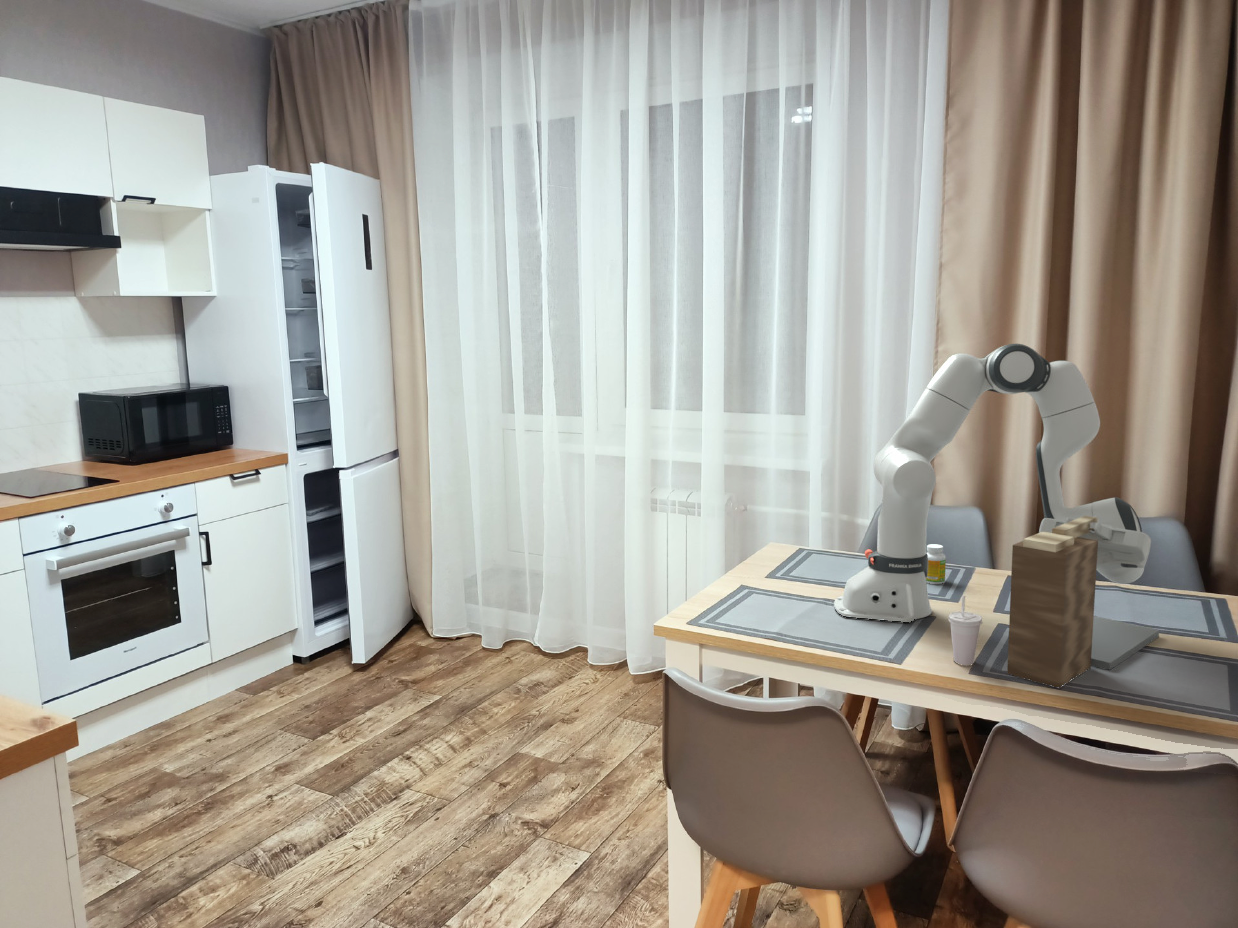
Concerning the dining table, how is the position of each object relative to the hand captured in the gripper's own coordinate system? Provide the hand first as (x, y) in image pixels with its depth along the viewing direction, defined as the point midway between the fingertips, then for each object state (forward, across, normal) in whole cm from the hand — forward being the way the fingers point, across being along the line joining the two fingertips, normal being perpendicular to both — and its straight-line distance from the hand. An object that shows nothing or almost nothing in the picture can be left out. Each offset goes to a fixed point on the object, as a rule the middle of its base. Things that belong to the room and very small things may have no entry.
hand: (1080, 524), depth 178 cm
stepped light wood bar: (+5, 0, +5) cm, 7 cm away
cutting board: (-23, 0, +19) cm, 29 cm away
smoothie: (+2, -14, +33) cm, 36 cm away
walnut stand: (-4, 0, +30) cm, 30 cm away
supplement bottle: (-37, -47, +11) cm, 61 cm away
